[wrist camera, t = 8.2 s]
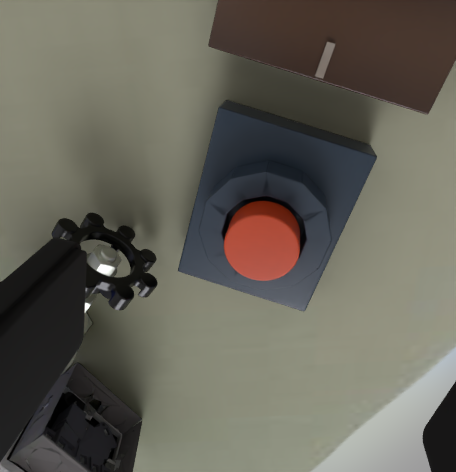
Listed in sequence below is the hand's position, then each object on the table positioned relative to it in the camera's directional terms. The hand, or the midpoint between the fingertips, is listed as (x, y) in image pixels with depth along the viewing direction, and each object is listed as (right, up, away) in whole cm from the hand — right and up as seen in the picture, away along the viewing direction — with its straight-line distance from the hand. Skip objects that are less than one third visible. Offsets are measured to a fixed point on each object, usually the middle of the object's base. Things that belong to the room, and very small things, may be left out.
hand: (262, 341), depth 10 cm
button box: (+2, +4, +14) cm, 15 cm away
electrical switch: (-11, -11, +25) cm, 29 cm away
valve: (-10, -1, +19) cm, 22 cm away
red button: (+1, +3, +11) cm, 11 cm away
